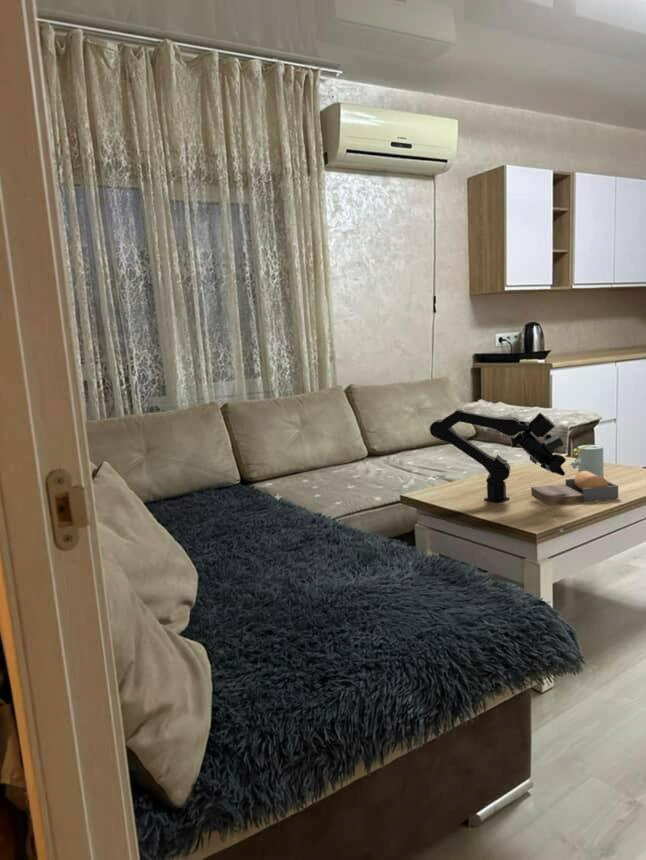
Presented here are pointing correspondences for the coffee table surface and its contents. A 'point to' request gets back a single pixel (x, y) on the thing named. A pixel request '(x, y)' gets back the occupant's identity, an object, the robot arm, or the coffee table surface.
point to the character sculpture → (589, 459)
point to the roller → (589, 480)
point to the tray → (595, 491)
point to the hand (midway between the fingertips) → (563, 474)
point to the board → (557, 494)
